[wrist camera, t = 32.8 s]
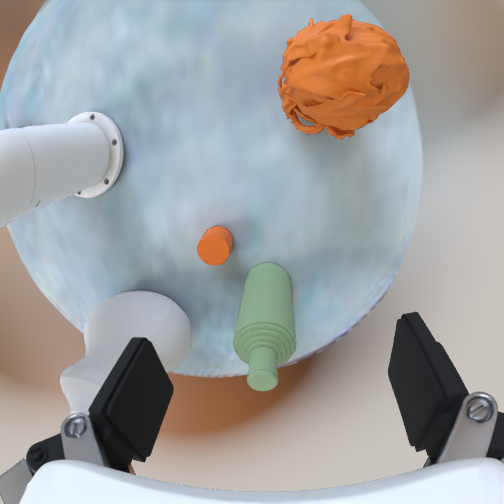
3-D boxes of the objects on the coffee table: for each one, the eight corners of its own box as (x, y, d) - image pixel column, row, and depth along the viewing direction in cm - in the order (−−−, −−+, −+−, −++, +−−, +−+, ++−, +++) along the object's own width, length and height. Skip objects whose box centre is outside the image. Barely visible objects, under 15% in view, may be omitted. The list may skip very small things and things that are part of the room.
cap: (238, 247, 38) (234, 258, 34) (212, 258, 39) (206, 269, 35) (224, 221, 36) (220, 230, 33) (198, 232, 37) (191, 242, 34)
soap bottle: (196, 280, 40) (109, 472, 13) (204, 341, 45) (154, 509, 18) (100, 275, 41) (-14, 404, 14) (117, 331, 46) (38, 460, 19)
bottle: (250, 305, 41) (235, 404, 25) (240, 266, 39) (217, 361, 22) (293, 298, 40) (301, 399, 24) (287, 259, 38) (294, 353, 21)
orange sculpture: (375, 123, 30) (460, 120, 13) (295, 150, 32) (319, 164, 16) (340, 44, 26) (393, -22, 9) (258, 69, 28) (243, 6, 12)
